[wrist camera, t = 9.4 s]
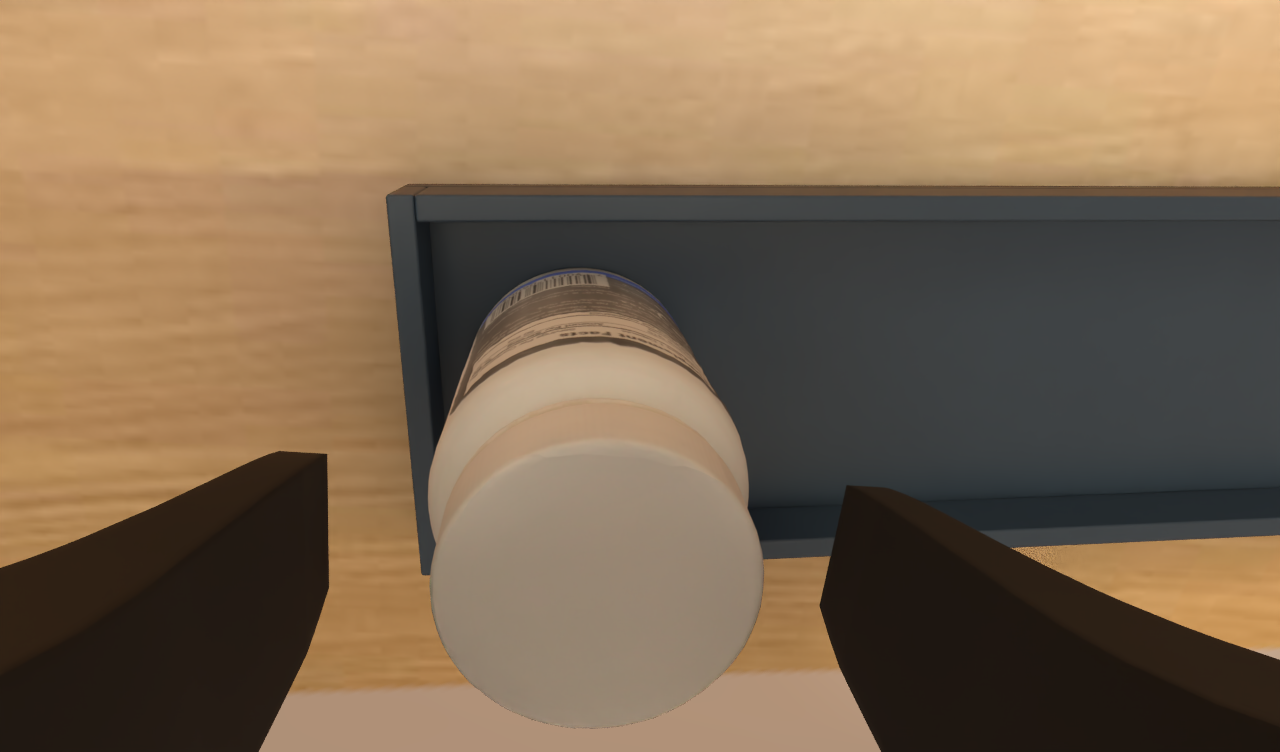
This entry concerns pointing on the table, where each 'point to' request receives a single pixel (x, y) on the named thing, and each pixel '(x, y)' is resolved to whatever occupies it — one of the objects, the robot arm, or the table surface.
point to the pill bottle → (590, 510)
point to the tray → (910, 341)
